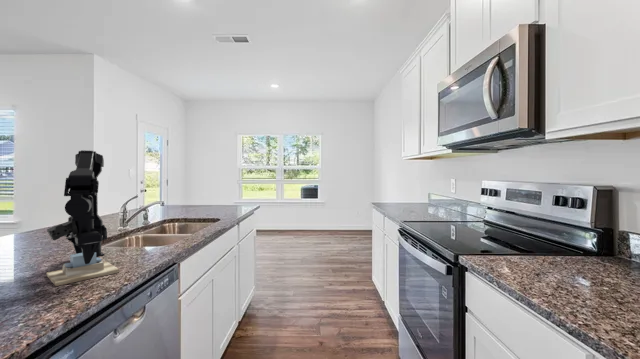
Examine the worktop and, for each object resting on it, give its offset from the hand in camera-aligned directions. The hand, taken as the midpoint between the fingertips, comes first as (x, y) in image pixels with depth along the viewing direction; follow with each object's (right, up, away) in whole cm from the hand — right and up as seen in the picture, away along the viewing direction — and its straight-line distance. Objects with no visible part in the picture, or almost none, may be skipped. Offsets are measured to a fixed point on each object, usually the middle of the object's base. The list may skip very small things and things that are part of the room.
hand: (83, 261), depth 98 cm
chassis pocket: (0, -4, 0) cm, 4 cm away
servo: (0, -3, 0) cm, 3 cm away
